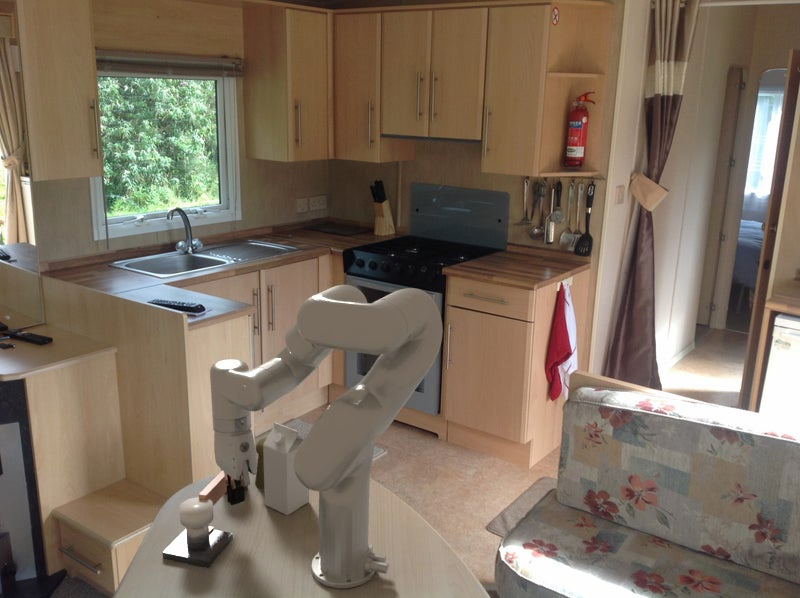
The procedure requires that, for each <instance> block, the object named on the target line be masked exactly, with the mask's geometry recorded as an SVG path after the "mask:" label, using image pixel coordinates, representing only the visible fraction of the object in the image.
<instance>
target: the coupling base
mask: <svg viewBox="0 0 800 598" xmlns="http://www.w3.org/2000/svg"><path fill="white" fill-rule="evenodd" d="M209 524H210V523H209ZM209 524H208V525H206V526H204V527H200V528H187V527H185V529H184V530H183V531H182V532H180V533H179V535H178V536H177V537H176V538H175V539H174V540H173V541H172V542H170V544H169V545H168V546H167V547H166V548H165V549H164V550H163V551H162V559H163V560H166V559H167V561H171V560H172V562H175V563H176V562H177V563H180V562H181V563H182V564H186V565H191V566H196V567H200V568H204V569H209V568H210V567H211V566H212V565H213V564H214V562H215V561H216V560H217V559H218V558H219V557H220V555H221V554H222V553H223V552H224V551H225V549H226V548H227V547H228V546H229V545H230V543H232V541H233V540H234V534H233V533H232V532H228V531H223V530H218V529H215V528H214V526H210V525H209Z"/></svg>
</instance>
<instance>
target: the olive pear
mask: <svg viewBox="0 0 800 598" xmlns="http://www.w3.org/2000/svg"><path fill="white" fill-rule="evenodd" d="M266 439H267V437H264V438H261V439H259V440H258V441H257V443H256V444H255V451H256V453H257V456H258V457H257V474H256V475H255V482H254V484H255V485H254V486H255V487H256V488H259V489H261V490H264V456H263V444H264V442H265V441H266Z"/></svg>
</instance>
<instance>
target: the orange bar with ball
mask: <svg viewBox="0 0 800 598" xmlns="http://www.w3.org/2000/svg"><path fill="white" fill-rule="evenodd" d="M228 485H229V484H228ZM226 492H227V484H226V482H225V475H224V471H221V470H220V472H219V473H218V474H217V475H216V476H215V477H214V478H213V479H212V480H211V481H210V482H209V483H208V484H207V485H206V486H205V487H204V488H203V489H202V490H201V491H200V492H199V493H198V496H197V497H191V498H188V499H186V500H184V501H183V502H181V504H180V505H179V519H180V522H179V523H180V524H181V525H182V526H183V527H185V528H186V527H187V528H200V527H204V526H206V525H208V524H211V523H212V521H214V506H215V504H217V502H218V501H219V500H220V499H222V497H223V496H224V495H226V494H227V493H226Z"/></svg>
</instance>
